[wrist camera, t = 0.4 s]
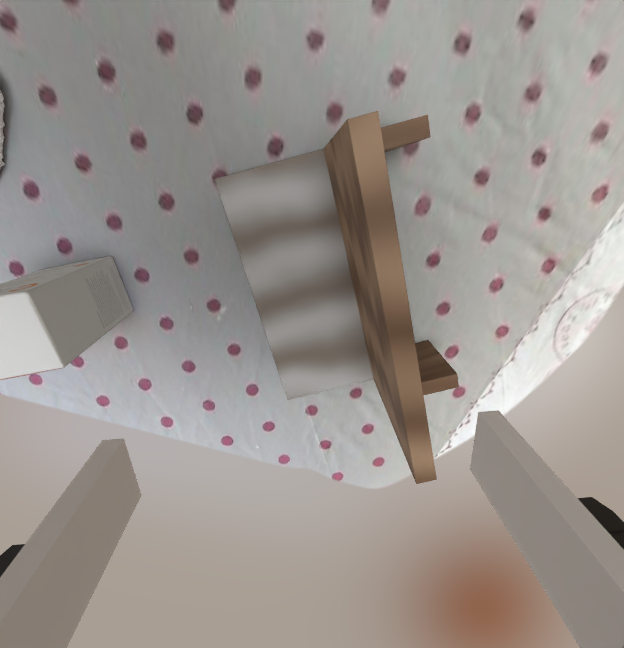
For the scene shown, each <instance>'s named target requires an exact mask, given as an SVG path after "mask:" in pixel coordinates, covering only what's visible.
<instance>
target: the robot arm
mask: <svg viewBox="0 0 624 648" xmlns="http://www.w3.org/2000/svg"><path fill="white" fill-rule="evenodd" d="M470 470H471V471H472V473H473V475H474V476H475V478H476V479H477V481H478V483H479V484H480V486H481V488H482V489H483V491H484V492H485V494H486V496H487V497H488V499H489V501H490V502H491V504H492V506H493V507H494V509H495V510H496V512H497V514H498V515H499V517H500V519H501V520H502V522H503V523H504V525H505V527H506V528H507V530H508V532H509V533H510V535H511V536H512V538H513V540H514V541H515V543H516V544H517V546H518V548H519V549H520V551H521V553H522V554H523V556H524V557H525V559H526V561H527V562H528V564H529V566H530V567H531V569H532V571H533V572H534V574H535V575H536V577H537V579H538V580H539V582H540V583H541V585H542V587H543V588H544V590H545V592H546V593H547V595H548V596H549V598H550V599H551V601H552V603H553V605H554V606H555V608H556V609H557V611H558V613H559V614H560V616H561V617H562V619H563V621H564V622H565V624H566V626H567V627H568V629H569V631H570V632H571V634H572V635H573V637H574V639H575V640H576V642H577V644H578V645H579V647H580V648H624V522H623V521H622V520H621V519H620V518H619V517H618V516H617V515H616V514H615V513H614V512H613V511H612V510H610V509H609V508H607V507H606V506H604V505H602V504H601V503H600V502H598V501H597V500H595V499H594V498H592V497H587V498H577V497H576V496H575V495H574V494H573V493H572V492H571V491H570V489H569V488H568V487H567V486H566V485H565V484H564V483H563V482H562V481H561V479H560V478H559V477H558V476H557V475H556V474H555V473H554V472H553V471H552V469H550V467H549V466H548V465H547V464H546V463H545V462H544V461H543V459H541V457H540V456H539V455H538V454H537V453H536V452H535V451H534V449H533V448H532V447H531V446H530V445H529V444H528V443H527V442H526V441H525V440H524V438H523V437H522V436H521V435H520V434H519V433H518V432H517V431H516V430H515V428H514V427H513V426H512V425H511V424H510V423H509V422H508V421H507V419H506V418H505V417H504V416H503V415H502V414H501V413H500V412H499V411H487V412H478V418H477V425H476V432H475V440H474V446H473V453H472V460H471V467H470ZM140 497H141V493H140V489H139V486H138V483H137V479H136V476H135V473H134V470H133V467H132V463H131V460H130V457H129V454H128V451H127V447H126V444H125V441H124V439H113V440H102V442H101V443H100V444H99V446H98V447H97V448H96V450H95V451H94V453H93V454H92V455H91V456H90V458H89V459H88V461H87V462H86V463H85V465H84V466H83V467H82V469H81V470H80V471H79V473H78V474H77V475H76V477H75V478H74V479H73V481H72V482H71V483H70V485H69V486H68V487H67V489H66V490H65V492H64V493H63V494H62V495H61V497H60V498H59V499H58V501H57V502H56V503H55V505H54V506H53V507H52V509H51V510H50V511H49V513H48V514H47V515H46V517H45V518H44V520H43V521H42V522H41V524H40V525H39V526H38V528H37V529H36V530H35V532H34V533H33V534H32V536H31V537H30V538H29V540H28V541H27V542H26V544H21V545H12V546H11V547H10V548H9V549H7V550H6V551H5V552H4V553H3V554H2V555H0V648H67V646H68V644H69V642H70V640H71V638H72V636H73V634H74V632H75V630H76V628H77V626H78V624H79V622H80V620H81V617H82V615H83V613H84V611H85V609H86V607H87V605H88V603H89V601H90V599H91V597H92V595H93V593H94V591H95V589H96V587H97V585H98V583H99V581H100V579H101V577H102V575H103V572H104V570H105V568H106V566H107V564H108V562H109V560H110V558H111V556H112V554H113V552H114V550H115V548H116V546H117V544H118V542H119V540H120V538H121V536H122V534H123V532H124V530H125V527H126V525H127V524H128V521H129V519H130V517H131V515H132V513H133V511H134V509H135V507H136V505H137V503H138V501H139V499H140Z"/></svg>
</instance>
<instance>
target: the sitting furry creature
mask: <svg viewBox="0 0 624 648" xmlns="http://www.w3.org/2000/svg"><path fill="white" fill-rule="evenodd" d="M3 101H4V97H3V95H2V93H1V91H0V169H1V167H2V166H4V165H5V163H4V162H2V158H3V141H4V138H5V137H4V135H3V127H4V126H5V123H4V121H3V113H4V107H5V105H4V102H3Z"/></svg>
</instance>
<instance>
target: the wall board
mask: <svg viewBox="0 0 624 648" xmlns="http://www.w3.org/2000/svg"><path fill="white" fill-rule="evenodd" d="M429 137H430V130H429V121H428V115H425V116H422V117H418V118H415V119H411V120H407V121H404V122H400V123H397V124H393V125H389V126H386V127H382V128H381V127H380V120H379V114H378V111H376V112H372V113H369V114H365V115H362V116H358V117H354V118H351V119H348V120H347V121H346V122H345V123H344V124H343V126H342V127H341V128H340V129H339V131H338V132H337V133H336V134H335V135H334V137H333V138H332V139H331V140H330V141H329V143H328V144H327V145H326V146H325V148H324V149H321V150H317V151H314V152H310V153H307V154H303V155H299V156H296V157H292V158H289V159H285V160H281V161H278V162H274V163H271V164H267V165H263V166H260V167H256V168H253V169H249V170H246V171H242V172H238V173H235V174H231V175H228V176H224V177H220V178H217V179H215V182H216V185H217V188H218V191H219V194H220V197H221V200H222V203H223V206H224V209H225V212H226V215H227V218H228V221H229V224H230V227H231V230H232V233H233V236H234V239H235V242H236V245H237V248H238V251H239V254H240V257H241V261H242V264H243V267H244V270H245V273H246V276H247V279H248V282H249V285H250V288H251V291H252V294H253V297H254V300H255V303H256V306H257V309H258V312H259V315H260V318H261V321H262V324H263V327H264V330H265V333H266V336H267V339H268V342H269V345H270V348H271V351H272V354H273V357H274V360H275V363H276V366H277V369H278V372H279V375H280V378H281V381H282V384H283V387H284V390H285V393H286V396H287V399H288V400H290V399H294V398H298V397H302V396H306V395H310V394H315V393H319V392H323V391H327V390H331V389H335V388H339V387H343V386H347V385H351V384H355V383H360V382H364V381H368V380H372V379H374V381H375V384H376V386H377V389H378V391H379V394H380V396H381V398H382V401H383V403H384V406H385V408H386V411H387V413H388V416H389V418H390V421H391V423H392V425H393V428H394V430H395V433H396V435H397V438H398V440H399V443H400V445H401V447H402V450H403V452H404V455H405V457H406V460H407V462H408V465H409V467H410V469H411V472H412V474H413V477H414V479H415V482H416V484H419V483H423V482H427V481H432V480H436V479H437V478H436V472H435V466H434V459H433V453H432V447H431V441H430V434H429V428H428V422H427V415H426V409H425V403H424V397H423V395H427V394H431V393H435V392H439V391H444V390H448V389H452V388H456V387H459V385H458V376H457V373H456V372H455V371H454V370H453V368H452V367H451V366H450V365H449V364H448V363H447V361H446V360H445V359H444V358H443V357H442V356H441V354H440V353H439V352H438V351H437V350H436V349H435V348H434V346H433V345H432V344H431V343H430V342H429V341H428V340H427V341H423V342H419V343H415V340H414V334H413V328H412V321H411V315H410V309H409V303H408V296H407V290H406V284H405V277H404V271H403V265H402V259H401V252H400V246H399V240H398V233H397V227H396V221H395V215H394V208H393V202H392V196H391V190H390V183H389V177H388V171H387V164H386V158H385V152H386V151H390V150H393V149H397V148H400V147H403V146H406V145H409V144H412V143H415V142H418V141H421V140H423V139H426V138H429Z"/></svg>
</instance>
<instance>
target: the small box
mask: <svg viewBox="0 0 624 648" xmlns="http://www.w3.org/2000/svg"><path fill="white" fill-rule="evenodd" d="M132 312H133V307H132V305H131V302H130V300H129V297H128V295H127V292H126V290H125V287H124V285H123V282H122V279H121V277H120V274H119V272H118V269H117V267H116V265H115V262H114V260H113V257H112V256H109V257H103V258H97V259H92V260H87V261H82V262H77V263H72V264H67V265H62V266H57V267H52V268H47V269H43V270H39V271H36V272H33V273H31V274H28V275H25V276H22V277H19V278H17V279H14V280H11V281H9V282H6V283H3V284H0V380H3V379H8V378H14V377H19V376H25V375H30V374H35V373H40V372H45V371H50V370H56V369H61V368H64V367H65V366H66V365H68V364H69V363H70V362H71V361H73V360H74V359H75V358H76V357H78V356H79V355H80V354H81V353H82V352H84V351H85V350H86V349H87V348H89V347H90V346H91V345H92V344H93V343H95V342H96V341H97V340H98V339H100V338H101V337H102V336H103V335H105V334H106V333H107V332H108V331H109V330H111V329H112V328H113V327H114V326H116V325H117V324H118V323H119V322H121V321H122V320H123V319H124V318H126V317H127V316H128V315H129V314H131V313H132Z"/></svg>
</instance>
